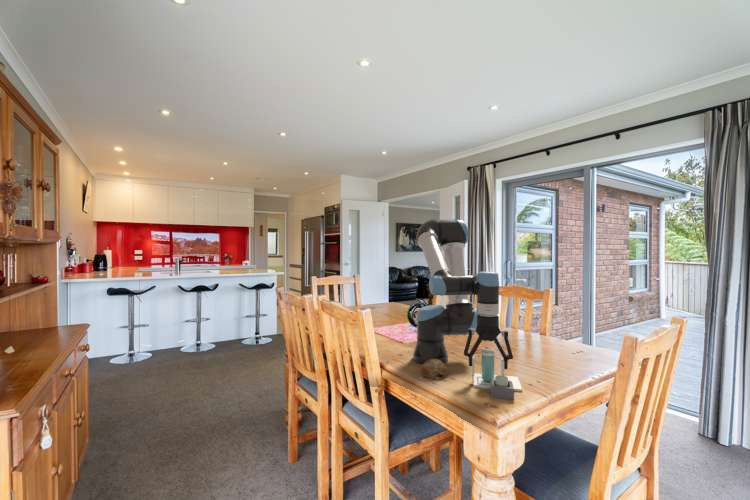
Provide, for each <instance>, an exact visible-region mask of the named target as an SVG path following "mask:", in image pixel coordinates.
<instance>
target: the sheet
mask: <svg viewBox="0 0 750 500" xmlns="http://www.w3.org/2000/svg"><path fill="white" fill-rule="evenodd" d="M498 375H499V374H498ZM498 375H497V374H494V379H495V377H496V376H498ZM505 376H506V377H508V381H512V384H513V387H514V392H519V393H520V392H523V387H522V385H521V381H520V379H519V377H518V376H513V375H512V376H511V375H505ZM472 377H473V376H472ZM473 388H479V389H489V390H490V383H486V382H484V381H483V379H482V373H476V372H474V377H473Z"/></svg>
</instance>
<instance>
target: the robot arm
mask: <svg viewBox="0 0 750 500" xmlns="http://www.w3.org/2000/svg"><path fill="white" fill-rule="evenodd" d="M469 235H470V234H469V227H468V225H467V223H466V222H465V221H464V220H461V219H455V218H454V219H429V220H427V221H425V222H424V223H422V224H421V225H420V226H419V228H418V230H417V232H416V243H417V246H418V247H419V248H420V249H422V252H423V256H424V258H425V261H426V264H427V266H428V267H427V268H428V270H429V272H430V275H431V276H430V277H429V281H428V288H429V292H430V294H431V295H433V296H448V302H447V303H446V304H445V307H444V305H442V304H441V305H440V304H432V305H425V306H422V307H420V308H418V310H417V312H416V313H417V315H416V329H417V330H416V335H417V336H416V344H415V348H414V351H413V353H412V359H413V361H414V362H416V363H419V364H422V365H423V364H424V363H425V362H426V361H427V360H430V359H438V360H440V361H442V362H443V363H444V364H446V363H447V362H448V361H449V355H448V350H447V348H446V346H445V341H444V340H445V336H467V335H468V336H467V340H466V343H465V348H464V351H463V355H464V356H465V357H468V366H469V367H471V368H472V369H471V374H472V376H471V377H474V373H475V356H474V355H475V353H476V351H477V349H478V348H479V346H480V344H481V343H482V342H486V341H489V342H494V344H495V346H496V347H497V349H498V351H499V352H500V354H501V356H502V357H501V359H500V362H501V364H500V366H501V369H500V372H501V374H500V375H501V376H505V370H508V364H509V363H508V361H509V360H513V358H514V355H513V352H512V348H511V344H510V341H509V332H508V330H507V329H504V330H502V329H500V319H499V318H500V316H499V314H500V311H499V310H500V307H499V306H500V305H499V302H500V300H499V299H500V296H499V295H500V278H499V273H498V272H496V271H479V272H477V274H469V275H468V274H467V275H466V270H465V261H464V260H465V259H464V252H463V250H464V248H465V247H466V244H467V243H468V241H469V239H470V238H469ZM442 251H443V252H442ZM470 295H473V296H475V295H476V307H473V303H472V302H471V301H470V300H469V297H468V296H470ZM475 333H476V334H477V336H478V337H477V339H476V341H475V343H474V344H473V346H472V348H471V350H470V347H471V342H472V339H473V336H474V335H475ZM500 334H501V336H502V337H503V340H504V344H505V347H506V351H507V354H506V352H505V350H504V348H503V347H502V345H501V343H500V342H499V339H498V336H499V335H500ZM469 350H470V351H469Z"/></svg>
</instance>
